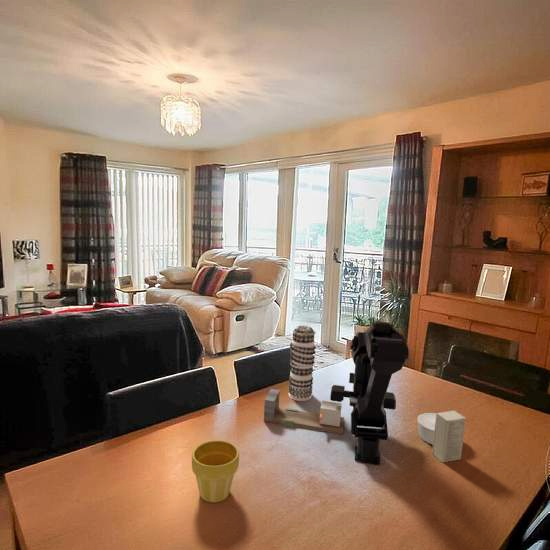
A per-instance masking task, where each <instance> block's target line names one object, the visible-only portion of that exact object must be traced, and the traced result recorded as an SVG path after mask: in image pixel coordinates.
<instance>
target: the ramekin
mask: <svg viewBox="0 0 550 550" xmlns="http://www.w3.org/2000/svg"><path fill="white" fill-rule="evenodd" d="M436 413H437V412H436ZM436 413H435V412H425V413H421V414H419V415H418V416H417V419H416V420H417V421H416V422H417V427H418V434H419V436H420V438H421V439H422V440H423V441H424V442H425V441H426V442H425V443H427V444H429V443H430V444H429V445H431V444H432V446H433V440H434V431H435V422H436Z"/></svg>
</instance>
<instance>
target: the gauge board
mask: <svg viewBox="0 0 550 550" xmlns="http://www.w3.org/2000/svg"><path fill="white" fill-rule="evenodd" d="M280 390H281V389H275V388H270V389H269V391H268V393H267V395H266V397H265V398H264V404H263V405H264V407H263V410H264V411H263V422H266V423H273V424H278V425H280V426H285V427H289V428H290V427H291V428H295V427H298V428H303V429H309V430H314V431H315V430H316V431H321V432H322V431H323V432H329V433H334V434H340V435H343V432H344V421H345V420H344V419H345V417H343V416H341V419H340V427H338V426H332V425H325V424H320V420H319V417H320V413H316V412H309V411H305V410H304V411H302V410H299V409H295V408H288V407H287V408H284V407H280V392H281V391H280Z"/></svg>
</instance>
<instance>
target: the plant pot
mask: <svg viewBox="0 0 550 550" xmlns="http://www.w3.org/2000/svg"><path fill="white" fill-rule="evenodd" d="M239 463H240V451H239V448H238V447H237V446H236V445H235V444H233V442H230V441H227V440H223V439H222V440H220V439H215V440H214V439H211V440H207V441H204V442H201V443H200V444H198V445H197V446H195V448H194V449H193V450H192V454H191V469H192V470H191V471H192V472H193V475H195V477H196V478H195V479H196V482H197V483H196V484H197V487H198V493H199V495H200V498H201V499H202V500H203V501H204V502H208V503H212V504H213V503H220V502H222V501H224V500H226V499H227V498H228V496H230V495H229V494H230V490H231V487H232V483H233V479H234V476H235V473H236V472H238V471H237V470H238V468H239Z"/></svg>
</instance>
